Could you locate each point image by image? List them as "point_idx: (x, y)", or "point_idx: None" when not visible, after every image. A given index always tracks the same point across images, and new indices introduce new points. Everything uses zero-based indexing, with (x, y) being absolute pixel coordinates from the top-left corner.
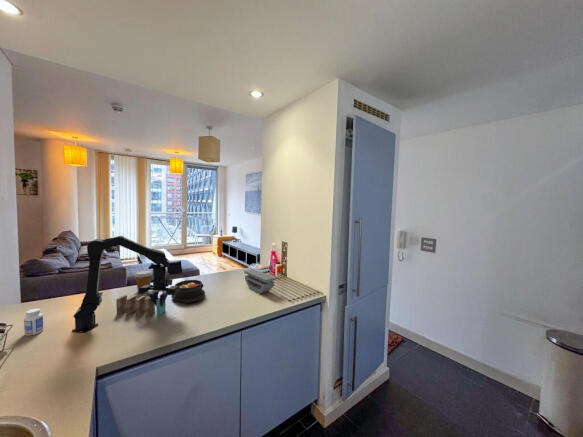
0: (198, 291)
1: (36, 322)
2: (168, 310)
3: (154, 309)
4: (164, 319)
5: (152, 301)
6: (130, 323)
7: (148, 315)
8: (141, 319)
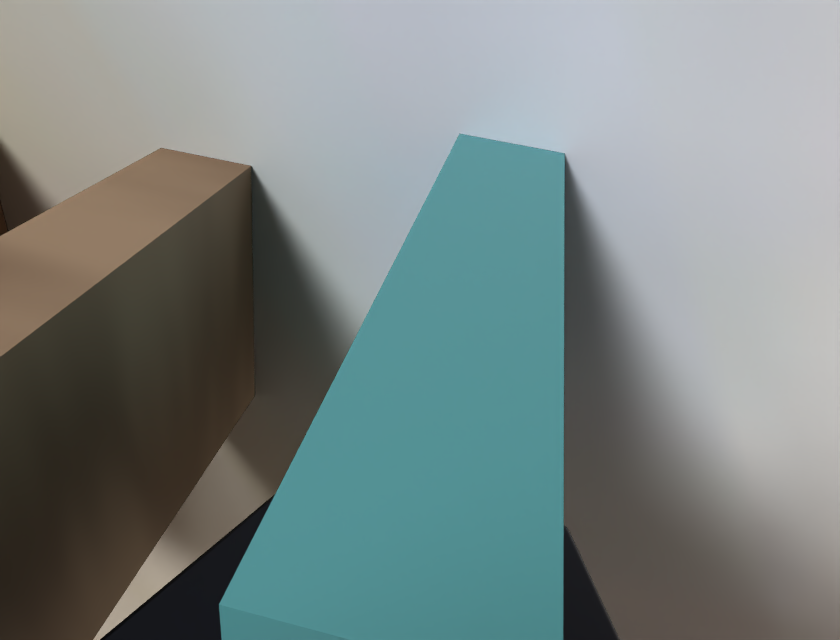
0: None
1: None
2: (667, 145)
3: (222, 213)
4: (684, 588)
5: (10, 528)
6: (141, 577)
7: (247, 398)
8: (217, 502)
